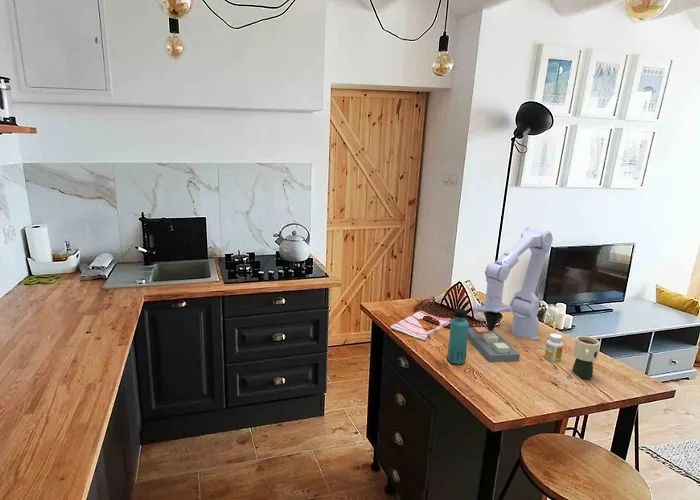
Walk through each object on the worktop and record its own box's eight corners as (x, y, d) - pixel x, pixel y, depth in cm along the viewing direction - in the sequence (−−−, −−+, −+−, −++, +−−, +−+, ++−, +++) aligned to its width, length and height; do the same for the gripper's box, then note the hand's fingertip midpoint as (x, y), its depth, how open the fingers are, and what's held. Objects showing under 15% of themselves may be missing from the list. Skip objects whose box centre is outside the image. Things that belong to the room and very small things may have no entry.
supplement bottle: (559, 358, 163) (563, 333, 161) (561, 365, 158) (565, 339, 156) (543, 356, 165) (547, 331, 162) (544, 362, 160) (548, 337, 158)
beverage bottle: (455, 369, 153) (460, 315, 148) (442, 361, 159) (447, 308, 154) (469, 365, 156) (474, 312, 151) (457, 357, 162) (461, 305, 157)
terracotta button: (483, 333, 180) (483, 327, 179) (487, 338, 176) (488, 331, 175) (473, 334, 179) (473, 327, 178) (477, 338, 175) (478, 331, 174)
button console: (489, 335, 182) (490, 327, 181) (518, 363, 159) (519, 354, 158) (463, 335, 180) (464, 327, 179) (489, 364, 157) (490, 355, 156)
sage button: (503, 350, 163) (504, 342, 162) (508, 355, 159) (509, 347, 158) (492, 350, 162) (493, 343, 162) (497, 356, 158) (498, 348, 158)
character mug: (594, 385, 145) (600, 348, 142) (570, 380, 148) (576, 344, 145) (593, 370, 155) (599, 336, 152) (570, 366, 158) (575, 331, 155)
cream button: (492, 340, 171) (493, 332, 170) (497, 344, 167) (498, 337, 166) (482, 340, 171) (483, 333, 170) (487, 345, 166) (487, 337, 166)
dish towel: (452, 325, 192) (453, 318, 191) (424, 343, 174) (425, 334, 173) (418, 315, 202) (419, 307, 201) (388, 330, 185) (389, 322, 184)
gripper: (479, 299, 160) (476, 334, 163) (517, 299, 162) (513, 333, 165) (472, 293, 167) (468, 326, 170) (508, 292, 169) (504, 326, 172)
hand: (490, 329), depth 168 cm, fingers closed
